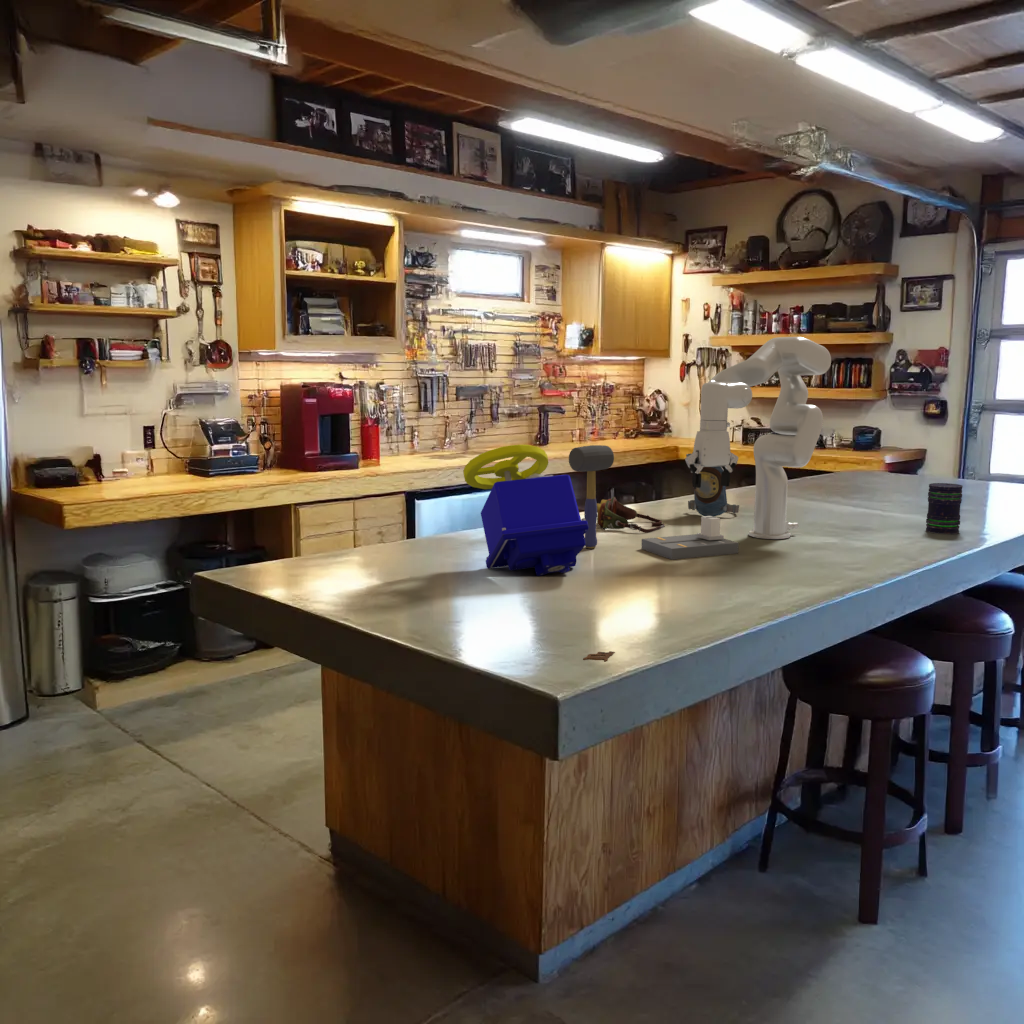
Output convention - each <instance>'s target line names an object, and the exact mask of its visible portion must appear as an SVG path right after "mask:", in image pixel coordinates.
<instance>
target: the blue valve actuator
mask: <svg viewBox="0 0 1024 1024" xmlns="http://www.w3.org/2000/svg"><path fill="white" fill-rule="evenodd" d="M509 458H510V459H509ZM526 458H531V459H533V460H535V462H534V463H533V464H532V465H531V466H530V467H529V468H526V469H524V470H522V471H519V470H520V469H519V468H520V467H519V464H520V463H521V462H522V461H524V460H525V459H526ZM496 461H498V462H497V463H495V464H494V465H492V466H486V465H489V464H491V463H493V462H496ZM548 465H549V458H548V455H547V453H546V451H545V450H544V449H543V448H541V447H540V446H536V445H530V444H514V445H505V446H500V447H496V448H493V449H491V450H488V451H485V452H482V453H480V454H479V455H476V456H475V457H473V458H471V459H470V460H469V462H468V463H467V464H466V465H465V466H464V468H463V472H462V473H463V478H464V482H465V483H466V484H467V485H468V486H470V487H472V488H477V489H482V490H490V492H489V494H488V496H487V498H486V501H485V503H484V505H483V507H482V509H481V511H480V516H481V523H482V527H483V531H484V532H483V533H484V537H485V541H486V542H485V543H486V546H487V550H488V556H486V559H485V565H486V568H487V569H495V568H504V567H508V570H509V571H517V570H524V569H525V570H526V569H532V568H534V571H535V575H536V577H541V576H544V575H547V574H553V573H557V572H558V573H562V574H563V573H568V572H569V571H570V572H571V569H570V568H572V567H576V566H577V565H576V564H577V556H578V555H580V554H579V553H580V552H581V551H582V550H583V549H584V548H585V547H586V546H585V544H586V543H585V533H586V531H587V530H588V529H589V526H588V523H587V521H586V520H585V517H583V518H581V514H580V511H579V506H578V503H577V498H576V495H575V490H574V487H573V483H572V479H571V476H570V474H561V475H560V474H559V475H554V474H547V475H544V474H543V473H544V472H545V470H546V469H547V467H548ZM484 466H486V467H484ZM489 474H494V475H495V476H496V477H495V478H494V477H493V478H492V477H482V476H483V475H489Z"/></svg>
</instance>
